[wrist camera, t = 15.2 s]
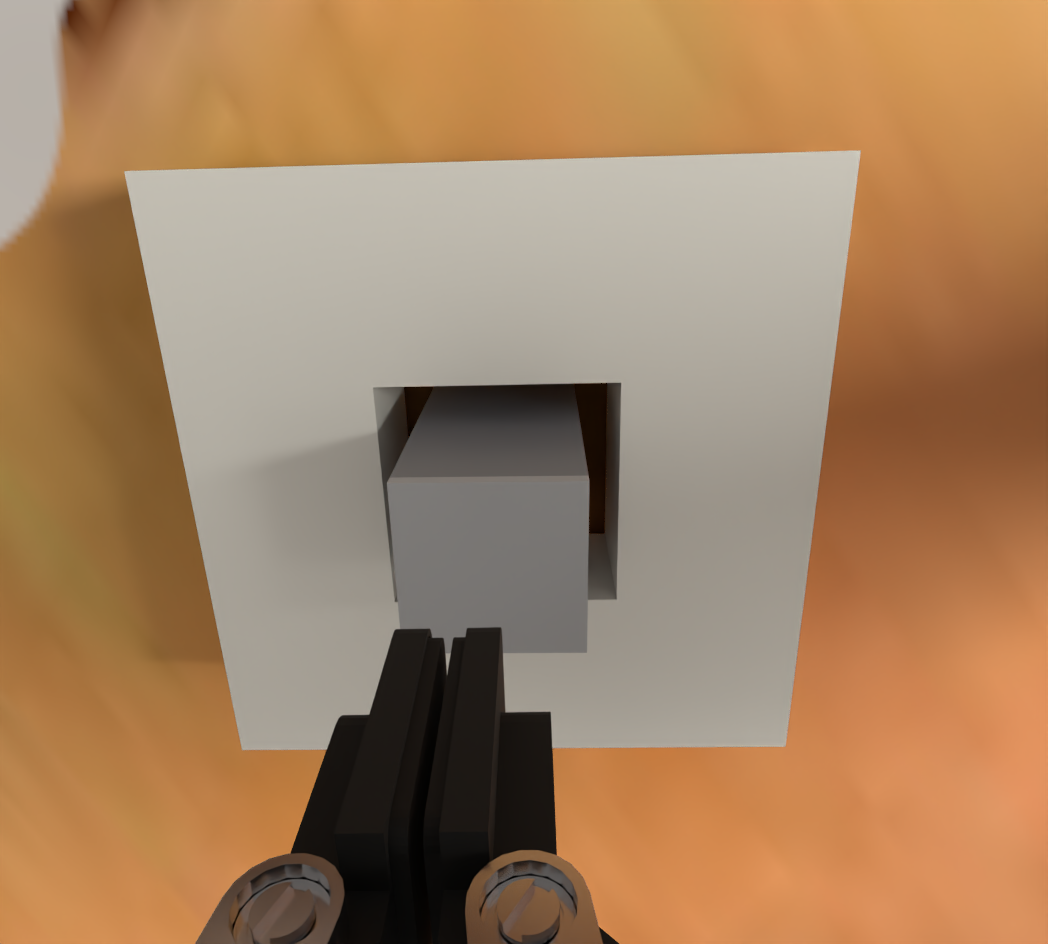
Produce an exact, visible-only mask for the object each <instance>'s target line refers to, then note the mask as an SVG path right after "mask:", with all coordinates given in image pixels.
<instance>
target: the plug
mask: <svg viewBox="0 0 1048 944" xmlns="http://www.w3.org/2000/svg"><path fill="white" fill-rule="evenodd" d="M387 491H388V502H389V513H390V524H391V535H392V546H393V556H394V567H395V578H396V589H397V600H398V611H399V622H400V629H430V630H431V633H432V638H444V643H445V653H451V648H452V642H453V638H454V637H466V630H467V628H484V627H501V628H502V643H503V653H587V619H588V548H589V475H588V469H587V463H586V457H585V450H584V444H583V438H582V431H581V425H580V419H579V413H578V406H577V400H576V394H575V388H574V383H572V384H521V385H470V386H434V387H433V390H432V392H431V394H430V396H429V398H428V400H427V402H426V404H425V406H424V408H423V410H422V412H421V414H420V416H419V418H418V420H417V422H416V424H415V426H414V428H413V431H412V433H411V435H410V437H409V439H408V441H407V443H406V445H405V447H404V449H403V451H402V453H401V455H400V457H399V459H398V461H397V463H396V465H395V467H394V469H393V472H392V474H391V476H390V478H389V480H388V482H387Z"/></svg>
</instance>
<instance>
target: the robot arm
mask: <svg viewBox="0 0 1048 944" xmlns="http://www.w3.org/2000/svg"><path fill="white" fill-rule="evenodd" d="M195 944H619V943H618V942H616V941H615V940H614V939H613V938H612V937H610V936H609V935H608V934H607V933H606V932H605V931H603V930H602V929H601V928H600V927H599V926H598V922H597V918H596V914H595V910H594V907H593V903H592V899H591V895H590V892H589V889H588V887H587V885H586V883H585V881H584V878H583V876H582V875H581V874H580V873H579V872H578V871H577V870H576V869H575V868H574V867H573V866H572V864H570V863H569V862H567V861H565V860H564V859H562V858H560V857H558V856H557V851H556V826H555V802H554V777H553V752H552V728H551V712H505V690H504V666H503V643H502V628H501V627H484V628H467V630H466V637H454V638H453V642H452V648H451V654H450V661H449V667H448V673H447V668H446V655H445V643H444V638H432V633H431V630H430V629H396V630H394V633H393V636H392V639H391V642H390V646H389V649H388V653H387V656H386V659H385V663H384V666H383V670H382V673H381V676H380V680H379V683H378V687H377V690H376V693H375V697H374V700H373V704H372V707H371V710H370V714H369V715H342V716H341V717H339V718H338V721H337V723H336V725H335V728H334V731H333V733H332V736H331V739H330V742H329V745H328V748H327V751H326V753H325V756H324V759H323V762H322V765H321V768H320V771H319V773H318V776H317V779H316V782H315V785H314V788H313V791H312V793H311V796H310V799H309V802H308V805H307V808H306V811H305V813H304V816H303V819H302V822H301V825H300V828H299V831H298V833H297V836H296V839H295V842H294V845H293V848H292V851H291V853H290V854H285V855H282V856H278V857H274V858H270V859H268V860H266V861H264V862H262V863H260V864H258V865H256V866H254V867H252V868H251V869H249V870H248V871H247V872H246V873H245V874H243V875H242V876H241V877H240V878H238V879H237V880H236V881H235V882H234V883H233V884H232V886H231V887H230V888H229V890H228V891H227V892H226V893H225V895H224V896H223V897H222V899H221V901H220V902H219V904H218V906H217V907H216V909H215V911H214V913H213V914H212V916H211V918H210V919H209V921H208V923H207V924H206V926H205V928H204V929H203V931H202V933H201V935H200V936H199V938H198V940H197V941H196V943H195Z"/></svg>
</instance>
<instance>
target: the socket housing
mask: <svg viewBox="0 0 1048 944" xmlns="http://www.w3.org/2000/svg"><path fill="white" fill-rule="evenodd" d="M860 153H861V150H860V151H825V152H789V153H753V154H718V155H682V156H646V157H611V158H575V159H539V160H503V161H468V162H432V163H396V164H361V165H325V166H289V167H254V168H218V169H182V170H146V171H124V173H125V177H126V182H127V187H128V192H129V197H130V202H131V207H132V212H133V217H134V222H135V227H136V231H137V236H138V241H139V246H140V251H141V256H142V261H143V266H144V271H145V276H146V281H147V286H148V290H149V295H150V300H151V305H152V310H153V315H154V320H155V325H156V330H157V335H158V340H159V344H160V349H161V354H162V359H163V364H164V369H165V374H166V379H167V384H168V389H169V394H170V399H171V403H172V408H173V413H174V418H175V423H176V428H177V433H178V438H179V443H180V448H181V453H182V457H183V462H184V467H185V472H186V477H187V482H188V487H189V492H190V497H191V502H192V507H193V511H194V516H195V521H196V526H197V531H198V536H199V541H200V546H201V551H202V556H203V561H204V566H205V570H206V575H207V580H208V585H209V590H210V595H211V600H212V605H213V610H214V615H215V620H216V624H217V629H218V634H219V639H220V644H221V649H222V654H223V659H224V664H225V669H226V674H227V679H228V683H229V688H230V693H231V698H232V703H233V708H234V713H235V718H236V723H237V728H238V733H239V737H240V742H241V747H242V750H327V748H328V745H329V742H330V739H331V736H332V733H333V731H334V728H335V725H336V723H337V721H338V718H339V717H341V716H342V715H369V714H370V710H371V707H372V704H373V700H374V697H375V693H376V690H377V687H378V683H379V680H380V676H381V673H382V670H383V666H384V663H385V659H386V656H387V653H388V649H389V646H390V642H391V639H392V636H393V633H394V630H396V629H400V622H399V611H398V600H397V589H396V578H395V567H394V556H393V546H392V535H391V524H390V513H389V502H388V491H387V482H388V480H389V478H390V476H391V474H392V472H393V469H394V467H395V465H396V463H397V461H398V459H399V457H400V455H401V453H402V451H403V449H404V447H405V445H406V443H407V441H408V427H407V416H406V404H405V393H404V387H420V386H470V385H521V384H572V383H607V425H606V492H605V534H589V548H588V619H587V653H503V666H504V690H505V712H551V728H552V748H641V747H786V739H787V731H788V723H789V715H790V707H791V699H792V691H793V684H794V676H795V668H796V660H797V652H798V644H799V636H800V628H801V620H802V612H803V604H804V596H805V589H806V581H807V573H808V565H809V557H810V549H811V541H812V533H813V525H814V517H815V509H816V501H817V494H818V486H819V478H820V470H821V462H822V454H823V446H824V438H825V430H826V422H827V414H828V407H829V399H830V391H831V383H832V375H833V367H834V359H835V351H836V343H837V335H838V327H839V319H840V312H841V304H842V296H843V288H844V280H845V272H846V264H847V256H848V248H849V240H850V232H851V224H852V217H853V209H854V201H855V193H856V185H857V177H858V169H859V161H860ZM450 654H451V653H445V655H446V668H447V673H448V667H449V661H450Z"/></svg>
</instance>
